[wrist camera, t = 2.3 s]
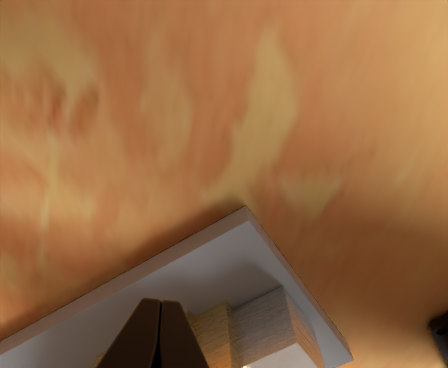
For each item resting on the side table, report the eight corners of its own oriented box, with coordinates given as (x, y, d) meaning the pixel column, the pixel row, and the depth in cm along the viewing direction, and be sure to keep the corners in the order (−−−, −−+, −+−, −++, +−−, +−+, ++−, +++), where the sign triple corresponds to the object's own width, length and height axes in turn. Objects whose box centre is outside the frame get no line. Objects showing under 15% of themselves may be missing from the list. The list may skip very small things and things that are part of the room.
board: (347, 342, 21) (353, 359, 20) (126, 439, 24) (124, 457, 23) (245, 205, 16) (248, 220, 15) (-10, 346, 20) (-19, 365, 19)
